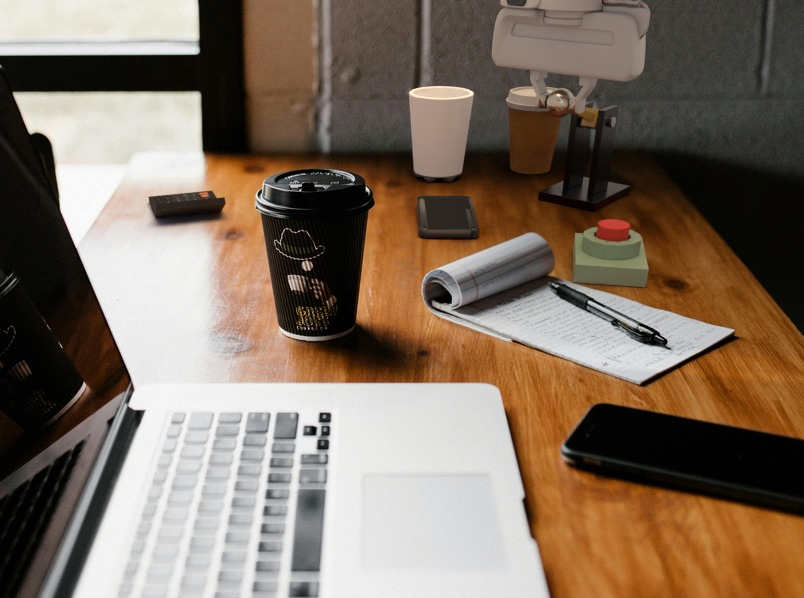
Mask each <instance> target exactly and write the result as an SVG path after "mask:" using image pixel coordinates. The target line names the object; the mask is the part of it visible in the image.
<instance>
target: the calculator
mask: <svg viewBox="0 0 804 598" xmlns="http://www.w3.org/2000/svg"><path fill="white" fill-rule="evenodd" d="M148 203H149V206H150V208H151V211H152V213H153V217H154V218H162V217H163V218H165V217H174V216H182V215H192V214H193V215H195V214H203V213H213V212H222V211H223V209H224V207H225V206H226V198H225V196H224V197H217V196H216V194H215V193H214V191H213V190H204V191H203V190H202V191H193V192H192V191H191V192H184V193H183V192H181V193H173V194H163V195H152V196H148Z"/></svg>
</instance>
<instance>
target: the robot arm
mask: <svg viewBox="0 0 804 598" xmlns="http://www.w3.org/2000/svg"><path fill="white" fill-rule="evenodd" d="M499 2H500V3H499V4H500V5H501V6H502V7H503V8H502V9H501V10H500V11H499V12H498V14H497V16H496V18H495V22H494V28H493V35H492V44H491V59H492V60H493V62H494V65H495V66H496V67H502V68H510V69H517V70H525V71H530V72H529V73H530V74H529V81H530V83H531V85H532V86H533V88H534V91H535V93H536V104H535V106H536V107H538V108H545V109H547V107H546V101H547V98H548V96H549V94H550V93H549V92H547V88H546V87H547V86H546V83H545V79H547V78H548V74H549V73H550V74H558V75H565V76H572V77H579V79H578V80H579V81H578V85H579V86H581V89H580V91H579V92H578V94H577V95H576V96H574V98H570V100H569V105H570V106H569V108H568V111H569V112H571V113H577V114H580V113H583V112H584V110H585V104H586V102H587V98H588V97H589V96H590V95H591V93H592V91H594V89H595V88H596V87H597V83H598V80H606V81H615V82H623V83H627V82H631V81H633V80H636V79H637V78H638V77H639V76H640V75H641V74H642V73H643V71H644V68H645V60H646V46H647V45H646V44H647V43H646V41H647V38H646V37H647V36H646V34H647V32H648V29H649V25H650V20H651V19H650V18H651V10H650V8H649V6H648V4H647V3H645V1H642V0H499ZM640 6H642V7H640ZM571 113H570V114H571Z"/></svg>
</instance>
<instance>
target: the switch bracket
mask: <svg viewBox="0 0 804 598" xmlns="http://www.w3.org/2000/svg"><path fill="white" fill-rule="evenodd" d="M593 107H594V102H593V101H587V100H586V104H585V108H592V109H594V108H593ZM619 111H620V105H617V104H615V105H614V104H613V105H609V106H607V107H604V108H600V109H599V110H598V117H597V124H596V130H595V132H594V139H593V140H594V141H593V146H592V155H591V162H590V168H589V169H590V171H589V177H587V176H585V170H586V169H585V168H586V162H587V161H586V160H587V155H588V154H587V153H588V145H589V140H590V139H589V138H590V131H591V129H588V128H586V127H584V126H582V125H581V122H582V119H581V118H579V117H577V116H575V115H573V114H571V113H570V120H569V121H570V123H569V131H568V139H567V148H566V155H565V165H564V173H563V180H562V181H560V182H557V183H555V184H552V185H550V186H548V187H545V188H543V189H541V190H539V191H538V195H537V200H539V201H545V202H549V203H553V204H558V205H562V206H567V207H571V208H576V209H581V210H585V211H589V212H595V211H597V210H600V209H601V208H604V207H606V206H608V205H610V204H612V203H613V202H615V201H617V200H620V199H622V198H624V197H625V196H628V195H630V189H631V186H630V185H627V184H622V183H617V182H612V181H609V179H610V173H611V165H612V160H613V152H614V144H615V138H616V131H617V124H618V117H619Z"/></svg>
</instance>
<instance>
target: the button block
mask: <svg viewBox="0 0 804 598" xmlns="http://www.w3.org/2000/svg"><path fill="white" fill-rule="evenodd" d="M597 227H598V226H595V227H590V228H587V229H585V230H583V232H582V233H581V232H575V233H574V237H573V246H572V283H577V284H593V285H605V286H606V285H607V286H618V287H619V286H620V287H633V288H646V287H647V281H648V278H649V277H648V275H649V271H650V268H649V263H648V259H647V255H646V250H645V244H644V240H643V237H642V235H641V233H639V232H636V231H635V230H633V229H629V235H628V240H627V241H619V242H615V241H606V240H602V239H598V238H597V237H596V234H597Z"/></svg>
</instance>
